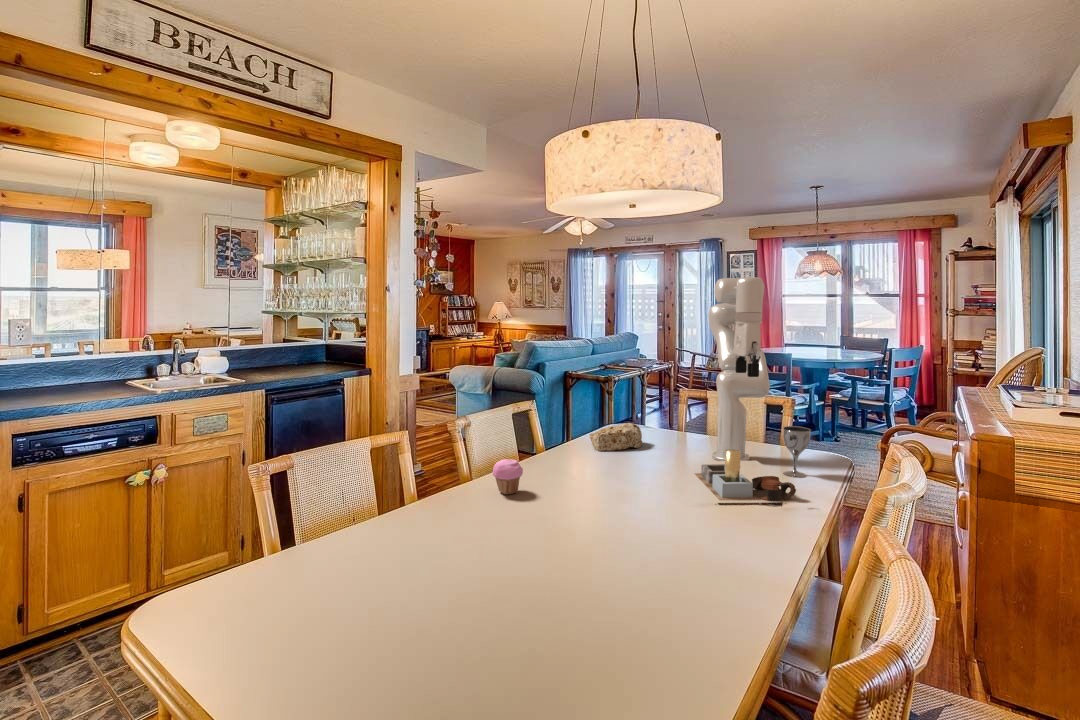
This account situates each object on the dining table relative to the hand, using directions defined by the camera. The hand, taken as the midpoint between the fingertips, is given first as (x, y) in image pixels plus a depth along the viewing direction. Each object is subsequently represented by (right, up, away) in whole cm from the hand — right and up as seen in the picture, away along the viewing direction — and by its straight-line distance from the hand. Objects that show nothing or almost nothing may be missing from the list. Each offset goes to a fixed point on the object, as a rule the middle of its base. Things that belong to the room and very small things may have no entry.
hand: (746, 374), depth 170 cm
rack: (-9, -33, -12) cm, 36 cm away
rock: (-34, -29, +46) cm, 65 cm away
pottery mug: (+2, -35, -15) cm, 38 cm away
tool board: (-9, -34, -6) cm, 36 cm away
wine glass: (+19, -33, +10) cm, 39 cm away
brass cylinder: (-9, -33, -12) cm, 36 cm away
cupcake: (-73, -35, -7) cm, 81 cm away
